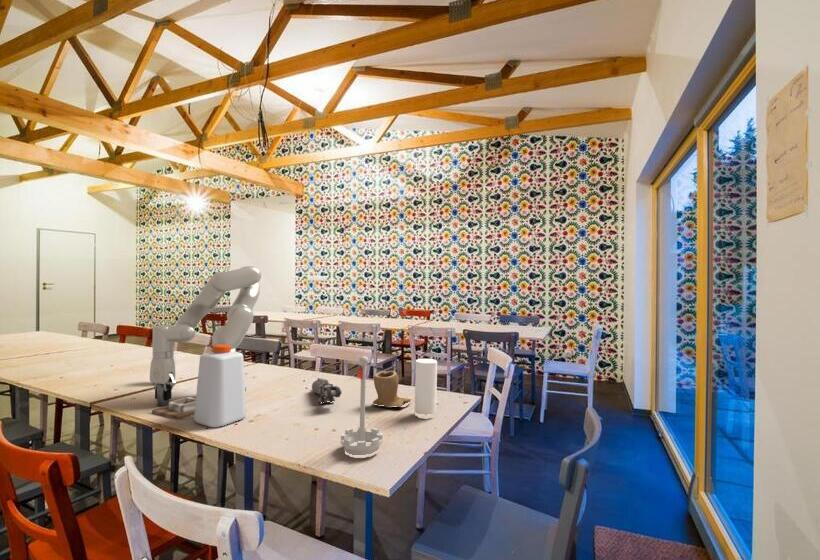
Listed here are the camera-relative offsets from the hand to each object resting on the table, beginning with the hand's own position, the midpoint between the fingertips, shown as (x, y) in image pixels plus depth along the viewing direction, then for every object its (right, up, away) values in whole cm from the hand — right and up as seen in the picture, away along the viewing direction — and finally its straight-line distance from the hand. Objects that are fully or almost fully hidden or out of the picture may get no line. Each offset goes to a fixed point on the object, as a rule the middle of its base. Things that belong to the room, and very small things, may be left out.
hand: (163, 398), depth 166 cm
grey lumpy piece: (+65, -4, +12) cm, 66 cm away
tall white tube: (+109, -5, -6) cm, 110 cm away
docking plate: (+12, -3, -6) cm, 14 cm away
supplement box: (-19, -2, +32) cm, 38 cm away
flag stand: (+87, -5, -40) cm, 96 cm away
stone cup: (+94, -5, +4) cm, 94 cm away
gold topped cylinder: (0, -2, 0) cm, 2 cm away
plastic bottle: (+31, -4, -16) cm, 35 cm away
